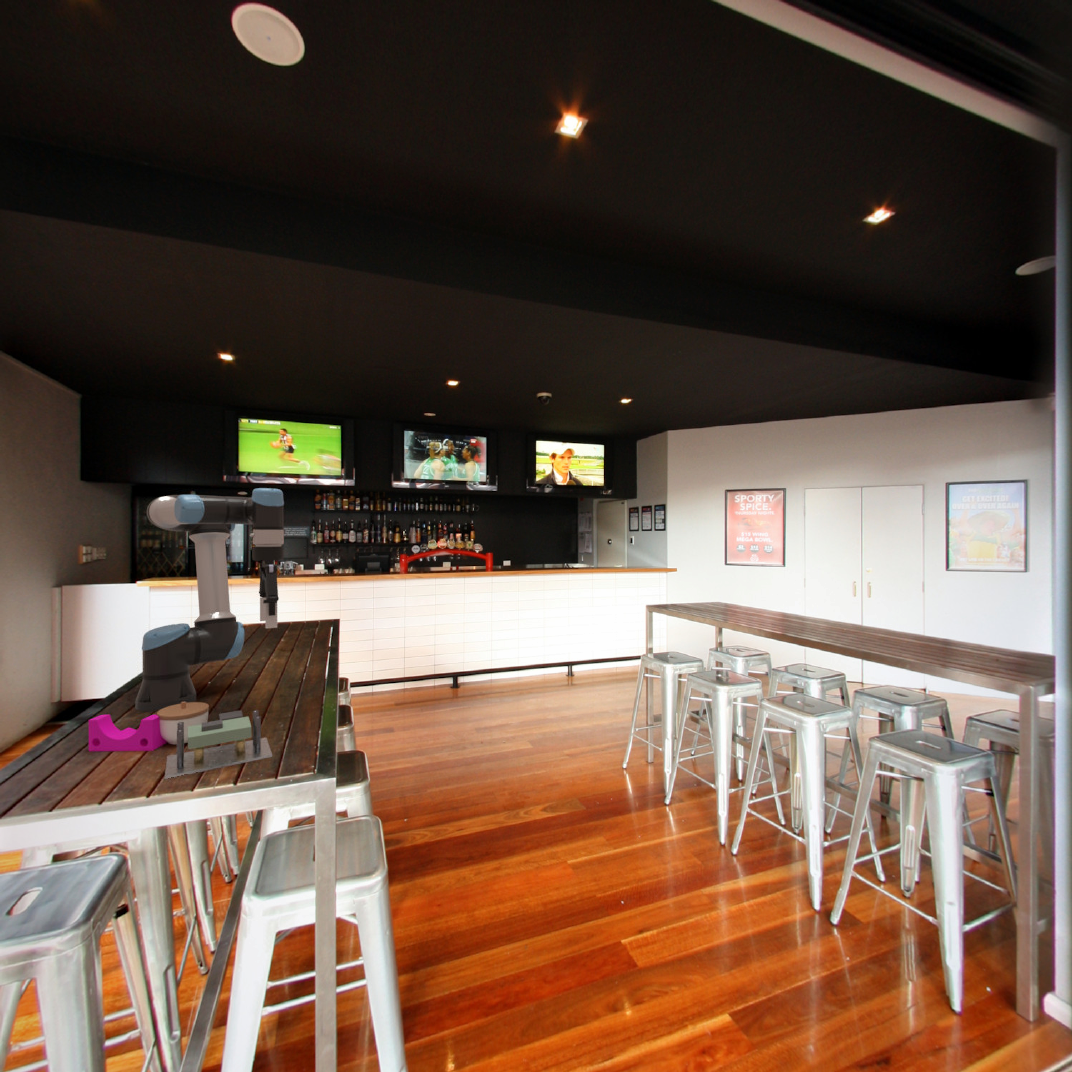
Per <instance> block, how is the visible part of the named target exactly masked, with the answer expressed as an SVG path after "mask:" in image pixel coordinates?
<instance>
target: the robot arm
mask: <svg viewBox="0 0 1072 1072" xmlns="http://www.w3.org/2000/svg"><path fill="white" fill-rule="evenodd" d="M251 494H252V495H251V497H244V496H243V497H242V496H224V495H223V496H221V495H219V496H218V495H204V494H201V495H200V494H193V493H192V494H171V495H170V494H169V495H166V496H165V495H163V496H159V497H156V498H155V499H153V500H152V501H151V502H150V503H149V504H148V506H147V509H146V516H147V518H148V520H149V522H150V523H152V524H153V525H154V527H155V526H156V527H157V528H160V529H162V530H165V531H172V532H188V538H189V539H190V540H191V541H192V542H193V543H194V549H195V550H194V552H195V565H196V566H195V567H196V581H197V595H198V611H199V612H198V614H199V616H198V617H197V618H196V619H195V620H194V622H193V623H194V627H190V625H189V623H176V624H175V623H173V624H168V625H162V626H159V627H156V628H152V629H150V630H148V631H147V632H145V633H144V634H143V637H142V645H141V646H142V647H141V651H142V682H141V685H140V688H139V690H138V693H137V696H136V698H135V702H134V705H135V710H136V711H139V712H158V711H159V710H161V709H163V708H165V707H168V706H172V705H176V704H181V702H186V703H189V702H196V700H197V691H196V688H195V686H194V684H193V681H192V679H191V677H190V667H191V666H194V665H196V666H197V665H200V664H201V665H202V664H207V663H214V662H219V661H221V662H222V661H223V662H224V661H225V660H229V659H234V658H236V657H238V656H239V655H240V653H242V649H243V646H244V642H245V628H244V625H243V623H242V621H241V622H240V621H237V616H236V615H235V614H233V613H232V612H231V605H230V593H229V592H230V591H229V589H230V588H229V578H228V577H229V576H228V565H227V562H228V561H227V548H226V541H227V540H228V538H229V537H230V536H231V535H230V534H231V532H233V531H234V530H235V528H236V525H246V526H248V525H249V526H250V525H251V526H252V528H251V529H252V532H251V533H249V537H251V538H252V545H254V546H253V547H252V551H251V552H252V560H253V561H255V562H257V561H258V562H259V561H260V563H259V565H260V567H258V568H259V590H258V594H259V621H260V622H264V623H265V626H264V628H265V629H274V628H275V629H277V628H278V601H279V590H278V589H279V588H278V566H277V564H275V561H283V559H284V558H285V557H284V556H285V555H284V550H285V549H284V547H283V546H282V545H284V543H285V542H284V538H285V534H284V533H285V530H284V505H285V501H284V492H283V491H282V490H281V489H278V488H271V487H269V488H267V487H259V488H254V489H253V490H252V493H251Z"/></svg>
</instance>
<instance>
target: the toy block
mask: <svg viewBox="0 0 1072 1072" xmlns="http://www.w3.org/2000/svg"><path fill="white" fill-rule="evenodd" d="M112 720H113V719H112V717H111V714H101V715H98V716H96V717H93V718H91V719H88V752H153V751H155V750H156V749H158V748H160V747H162V746H164V745H166V744H167V743H168V741H166V740H164V739H163V737H162V736H161V732H160V719H159V716H157V714H152V715H149V716H147V717H144V718H143V719H141V720H140V724H139V727H138V728H137V729H135V728H132V727H126V728H124V729H122V730H120V729H119V728H118V727H116V725H115V724H114V722H113V721H112ZM163 744H164V745H163ZM154 749H155V750H154Z"/></svg>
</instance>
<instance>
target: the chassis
mask: <svg viewBox="0 0 1072 1072" xmlns="http://www.w3.org/2000/svg"><path fill="white" fill-rule="evenodd" d="M261 717H262V716H260V715H259V710H258V709H254V710H252V739H251V740H246V739H242V740H236V741H234V742H233V743H229V744H223V745H219V746H214V747H209V748H205V746H204V747H199V748H193V750H192V751H186V752H185V743H184V722H179V723H177V744H176V753H175V754H169V755H167V756H166V763H165V764H166V765H165V771H164V780H168V778H169V779H172V778H171V777H174V778H178V777H177V776H179V777H182V776H181V775H183V776H185V775H184V774H188V775H192V774H197V773H196V772H198V773H202V772H207V771H211V770H216V769H220V768H221V769H222V768H226V767H231V766H235V765H240V764H244V763H249V762H253V761H259V760H265V759H269V758H272V757H273V753H272V752H273V751H271V748H270V743H269V742H268V738H267V737H262V734H261V733H262V731H261V729H262V728H261V721H262V720H261ZM261 737H262V738H261Z"/></svg>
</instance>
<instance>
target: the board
mask: <svg viewBox="0 0 1072 1072" xmlns="http://www.w3.org/2000/svg"><path fill="white" fill-rule="evenodd" d="M251 738H252V739H253V736H252V724H251V721H250V717H249V716H243V717H242V718H236V719H230V720H224V721H222V720H219V719H218V720H214V721H213V720H211V721H207V722H205V723H202V724H200V725H194V726H188V742H187V750H194V748H199V747H204V748H205V747H207V746H208V747H209V746H214V745H220V744H225V743H226V744H227V743H229V742H230V743H231V742H235V741H236V740H242V739H245V740H247V739H251Z"/></svg>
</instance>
